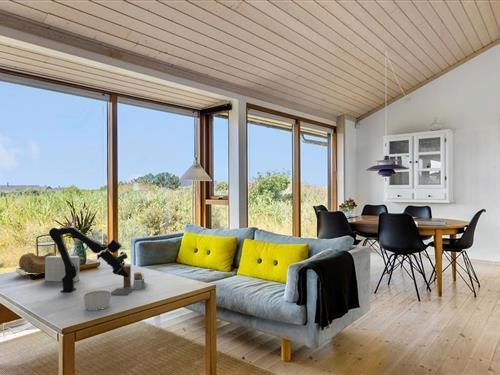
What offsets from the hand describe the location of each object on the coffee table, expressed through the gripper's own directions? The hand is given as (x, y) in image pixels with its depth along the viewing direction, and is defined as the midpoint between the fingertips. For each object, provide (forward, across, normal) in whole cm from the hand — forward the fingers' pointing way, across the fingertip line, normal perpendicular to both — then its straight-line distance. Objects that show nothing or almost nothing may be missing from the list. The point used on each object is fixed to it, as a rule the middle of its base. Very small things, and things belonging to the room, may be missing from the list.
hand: (128, 274), depth 225 cm
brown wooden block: (+4, 0, +6) cm, 7 cm away
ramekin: (-5, -34, +15) cm, 38 cm away
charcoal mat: (+3, -12, +7) cm, 14 cm away
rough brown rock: (-38, +47, +48) cm, 77 cm away
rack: (+9, 0, +1) cm, 9 cm away
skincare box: (-25, +26, +35) cm, 50 cm away
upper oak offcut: (+6, 0, -2) cm, 6 cm away
